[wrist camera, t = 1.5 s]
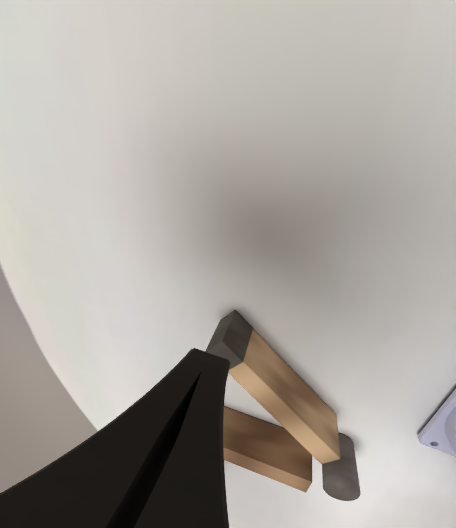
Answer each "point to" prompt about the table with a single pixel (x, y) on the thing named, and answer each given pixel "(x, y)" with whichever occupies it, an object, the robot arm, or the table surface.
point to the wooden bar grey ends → (276, 387)
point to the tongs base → (286, 456)
